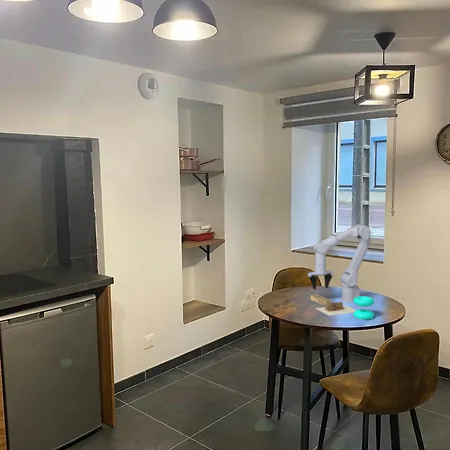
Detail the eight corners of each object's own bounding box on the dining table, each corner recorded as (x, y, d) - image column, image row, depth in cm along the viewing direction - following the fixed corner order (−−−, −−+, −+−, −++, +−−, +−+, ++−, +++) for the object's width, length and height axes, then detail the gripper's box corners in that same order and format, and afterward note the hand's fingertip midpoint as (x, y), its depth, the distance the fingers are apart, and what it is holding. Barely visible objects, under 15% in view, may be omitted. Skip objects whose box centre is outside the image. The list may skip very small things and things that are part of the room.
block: (339, 307, 248) (339, 301, 248) (344, 309, 244) (344, 303, 244) (324, 309, 246) (324, 303, 245) (328, 311, 241) (328, 305, 241)
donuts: (372, 295, 235) (375, 300, 225) (372, 315, 236) (375, 321, 226) (352, 295, 237) (354, 300, 227) (352, 314, 238) (354, 320, 228)
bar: (316, 300, 269) (315, 294, 268) (331, 306, 253) (331, 300, 253) (310, 300, 267) (310, 294, 267) (325, 307, 252) (325, 301, 252)
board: (344, 305, 254) (344, 304, 254) (359, 312, 240) (359, 311, 240) (315, 309, 248) (315, 308, 248) (328, 316, 235) (328, 315, 235)
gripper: (328, 262, 264) (328, 285, 266) (305, 264, 260) (305, 287, 261) (334, 264, 258) (334, 288, 259) (311, 266, 253) (311, 290, 254)
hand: (320, 288), depth 260 cm, fingers open, 7 cm apart
